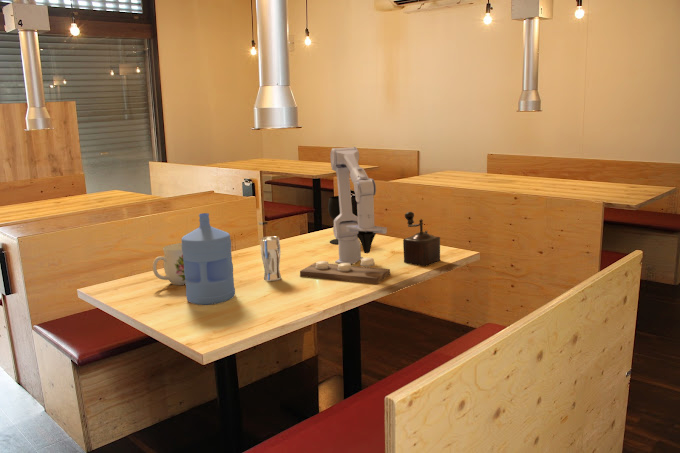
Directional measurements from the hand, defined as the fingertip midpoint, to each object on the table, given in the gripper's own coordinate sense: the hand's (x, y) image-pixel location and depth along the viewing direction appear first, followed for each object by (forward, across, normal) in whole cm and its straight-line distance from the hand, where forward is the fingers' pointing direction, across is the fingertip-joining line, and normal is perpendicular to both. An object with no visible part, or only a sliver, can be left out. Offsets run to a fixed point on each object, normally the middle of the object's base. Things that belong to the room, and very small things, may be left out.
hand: (367, 252), depth 215 cm
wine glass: (+9, -33, +47) cm, 58 cm away
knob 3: (+4, 0, 0) cm, 4 cm away
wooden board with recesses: (+9, -9, 0) cm, 13 cm away
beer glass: (+9, -32, -12) cm, 35 cm away
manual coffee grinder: (+9, +9, +27) cm, 30 cm away
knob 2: (+7, -9, 0) cm, 11 cm away
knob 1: (+7, -18, 0) cm, 19 cm away
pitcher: (+9, -62, -27) cm, 68 cm away
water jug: (+9, -40, -37) cm, 55 cm away
